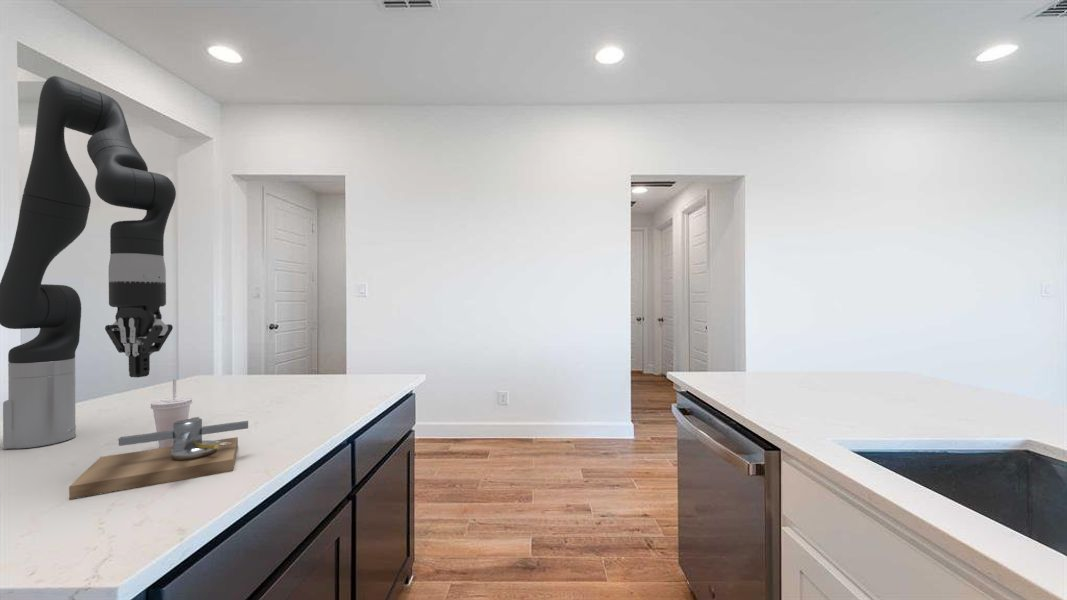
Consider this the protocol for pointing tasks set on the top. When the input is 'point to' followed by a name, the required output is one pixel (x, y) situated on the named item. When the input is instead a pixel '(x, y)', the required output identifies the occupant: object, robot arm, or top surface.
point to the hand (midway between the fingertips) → (139, 376)
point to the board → (151, 469)
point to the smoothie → (170, 414)
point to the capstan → (186, 437)
